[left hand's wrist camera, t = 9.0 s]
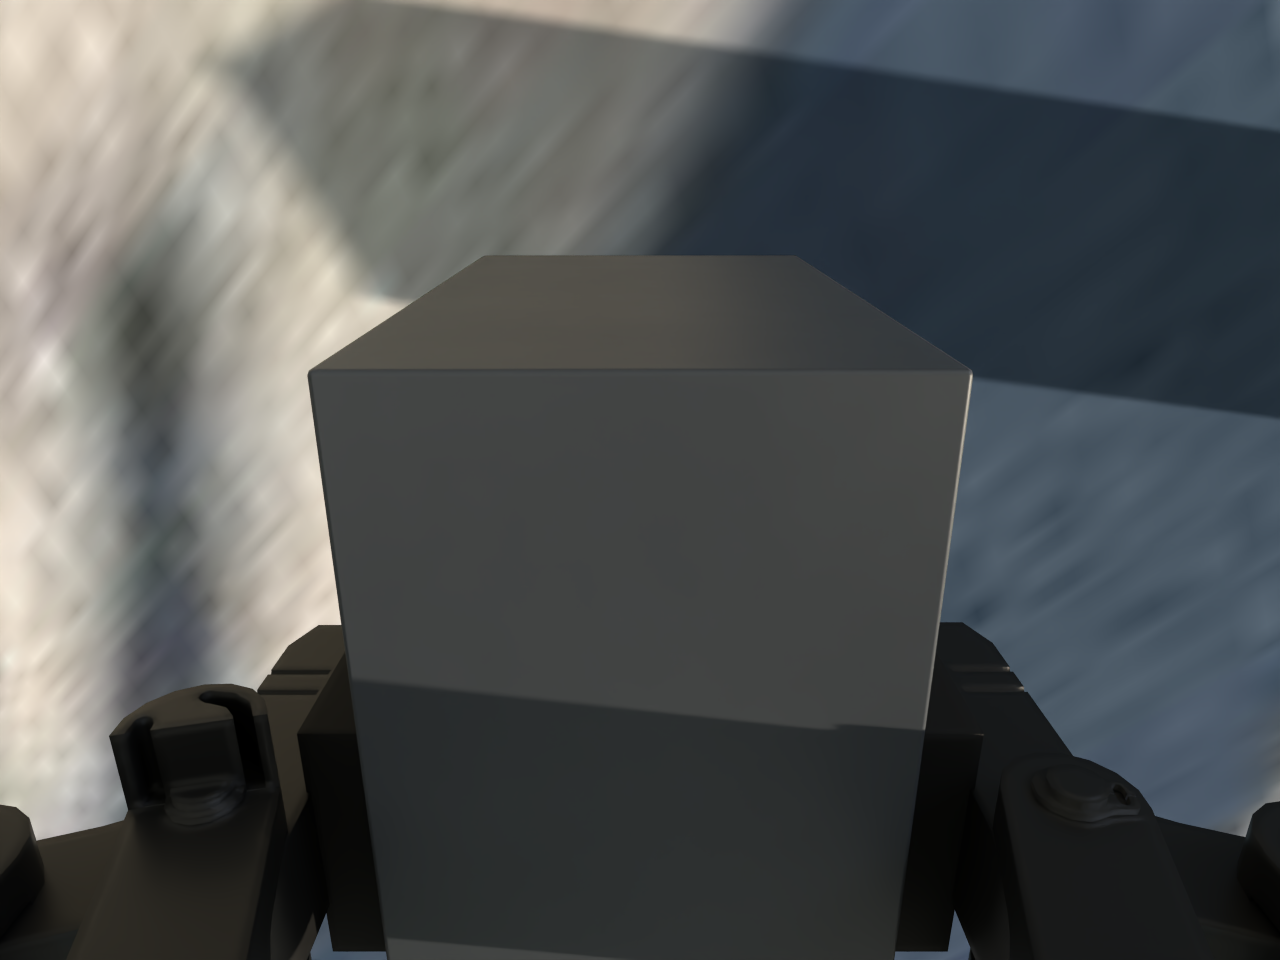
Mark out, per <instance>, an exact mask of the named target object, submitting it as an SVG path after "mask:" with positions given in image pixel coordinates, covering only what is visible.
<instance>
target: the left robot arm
mask: <svg viewBox="0 0 1280 960" xmlns="http://www.w3.org/2000/svg"><path fill="white" fill-rule="evenodd" d="M271 671H272V672H271V675H267V677H266V678H265V680H264V681H263V683H262V684H261V685H260V687H259V688H258V690H257V692H256V691H254V690H253V689H251V688H247V687H243V686H238V685H234V684H208V685H200V686H196V687H191V688H187V689H182V690H178V691H174V692H172V693H169V694H167V695H165V696H162V697H160V698H157V699H155V700H153V701H150V702H148V703H146V704H144V705H143V706H141V707H140V708H138V709H137V710H135V711H134V712H132V713H131V714H129V715H128V716H126V717H125V718H124V719H123V720H122V721H121V722H120V723H119V725H118V726H117V727H116V728H115V729H114V731H113V732H112V733H111V734H110V736H109V737H110V741H111V745H112V749H113V753H114V757H115V761H116V764H117V768H118V772H119V776H120V780H121V784H122V788H123V792H124V795H125V799H126V803H127V807H128V812H127V814H126V817H125V819H124V820H123V821H120V822H116V823H113V824H109V825H106V826H102V827H97V828H93V829H88V830H84V831H79V832H74V833H70V834H65V835H61V836H56V837H51V838H47V839H42V840H38V841H36V838H35V835H34V832H33V829H32V825H31V822H30V819H29V817H27V816H26V815H25V814H24V813H23V812H21V811H20V810H19V809H18V808H16V807H12V806H5V805H0V960H312V959H311V953H310V951H311V949H312V946H313V944H314V941H315V939H316V936H317V934H318V932H319V929H320V927H321V924H322V922H323V919H324V917H325V915H326V913H327V919H328V925H329V931H330V937H331V943H332V949H333V951H386V947H385V940H384V932H383V925H382V918H381V910H380V903H379V896H378V888H377V881H376V874H375V867H374V859H373V852H372V845H371V837H370V830H369V823H368V815H367V808H366V801H365V793H364V786H363V779H362V771H361V764H360V757H359V749H358V742H357V735H356V727H355V720H354V713H353V705H352V698H351V691H350V683H349V676H348V669H347V661H346V654H345V647H344V639H343V632H342V625H318V626H317V627H315V628H314V629H312V630H311V631H309V632H308V633H306V634H305V635H304V636H302V637H301V638H299V639H298V640H296V641H295V642H293V643H292V644H290V645H289V646H288V647H287V649H286V650H285V651H284V653H283V654H282V656H281V657H280V659H279V660H278V661H277V663H276V664H275V666H274V667H273V668H272V670H271ZM954 910H955V911H956V914H957V916H958V918H959V921H960V923H961V926H962V928H963V931H964V933H965V935H966V938H967V940H968V943H969V945H970V953H969V959H968V960H1280V801H1279V802H1272V803H1266V804H1265V805H1263V806H1262V807H1261V808H1260V809H1259V810H1257V811H1256V812H1255V813H1254V814H1253V815H1252V818H1251V821H1250V825H1249V828H1248V831H1247V834H1246V837H1242V836H1237V835H1232V834H1228V833H1223V832H1219V831H1214V830H1209V829H1205V828H1200V827H1196V826H1191V825H1186V824H1182V823H1178V822H1174V821H1171V820H1167V819H1164V818H1160V817H1157V816H1155V815H1154V813H1153V810H1152V808H1151V807H1150V806H1149V804H1148V803H1147V801H1146V800H1145V798H1144V797H1143V796H1142V794H1141V793H1140V791H1139V790H1138V789H1137V788H1135V787H1134V786H1133V785H1131V784H1130V783H1129V782H1127V781H1126V780H1125V779H1124V778H1122V777H1121V776H1120V775H1118V774H1117V773H1115V772H1113V771H1111V770H1109V769H1107V768H1105V767H1103V766H1100V765H1098V764H1096V763H1094V762H1092V761H1090V760H1086V759H1082V758H1078V757H1074V756H1073V755H1072V754H1071V752H1070V751H1069V750H1068V748H1067V747H1066V745H1065V744H1064V743H1063V741H1062V740H1061V738H1060V737H1059V736H1058V734H1057V733H1056V731H1055V730H1054V729H1053V727H1052V726H1051V724H1050V723H1049V721H1048V720H1047V719H1046V717H1045V716H1044V714H1043V713H1042V712H1041V710H1040V709H1039V707H1038V706H1037V705H1036V703H1035V702H1034V700H1033V699H1032V698H1031V696H1030V695H1029V693H1028V692H1024V686H1023V685H1022V684H1021V682H1020V681H1019V679H1018V678H1017V677H1016V675H1015V674H1014V672H1010V667H1009V665H1008V664H1007V663H1006V661H1005V660H1004V658H1003V657H1002V656H1001V654H1000V653H999V651H998V650H997V649H996V647H995V646H994V644H993V643H992V642H990V641H989V640H987V639H986V638H984V637H983V636H982V635H980V634H979V633H977V632H976V631H974V630H973V629H971V628H970V627H968V626H967V625H965V624H964V623H962V622H940V624H939V631H938V639H937V646H936V653H935V661H934V668H933V676H932V683H931V690H930V698H929V705H928V713H927V720H926V727H925V735H924V742H923V750H922V757H921V764H920V772H919V779H918V787H917V794H916V801H915V809H914V816H913V824H912V831H911V838H910V846H909V853H908V861H907V868H906V875H905V883H904V890H903V898H902V905H901V912H900V920H899V927H898V935H897V942H896V949H895V951H948V946H949V940H950V934H951V928H952V922H953V916H954Z"/></svg>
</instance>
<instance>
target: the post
mask: <svg viewBox="0 0 1280 960" xmlns="http://www.w3.org/2000/svg"><path fill="white" fill-rule="evenodd" d="M972 380H973V373H972V370H971V369H969V368H968V367H966V366H965V365H963V364H962V363H960V362H958V361H957V360H955V359H954V358H952V357H951V356H949V355H948V354H946V353H945V352H943V351H942V350H940V349H938V348H937V347H935V346H934V345H932V344H931V343H929V342H928V341H926V340H925V339H923V338H922V337H920V336H919V335H917V334H915V333H914V332H912V331H911V330H909V329H908V328H906V327H905V326H903V325H902V324H900V323H899V322H897V321H896V320H894V319H892V318H891V317H889V316H888V315H886V314H885V313H883V312H882V311H880V310H879V309H877V308H876V307H874V306H872V305H871V304H869V303H868V302H866V301H865V300H863V299H862V298H860V297H859V296H857V295H856V294H854V293H853V292H851V291H849V290H848V289H846V288H845V287H843V286H842V285H840V284H839V283H837V282H836V281H834V280H833V279H831V278H829V277H828V276H826V275H825V274H823V273H822V272H820V271H819V270H817V269H816V268H814V267H813V266H811V265H810V264H808V263H806V262H805V261H803V260H802V259H800V258H799V257H797V256H795V255H714V256H483V257H481V258H480V259H478V260H477V261H475V262H474V263H472V264H471V265H469V266H468V267H466V268H465V269H463V270H462V271H460V272H459V273H457V274H456V275H454V276H453V277H451V278H449V279H448V280H446V281H445V282H443V283H442V284H440V285H439V286H437V287H436V288H434V289H433V290H431V291H430V292H428V293H427V294H425V295H424V296H422V297H421V298H419V299H417V300H416V301H414V302H413V303H411V304H410V305H408V306H407V307H405V308H404V309H402V310H401V311H399V312H398V313H396V314H395V315H393V316H392V317H390V318H388V319H387V320H385V321H384V322H382V323H381V324H379V325H378V326H376V327H375V328H373V329H372V330H370V331H369V332H367V333H366V334H364V335H363V336H361V337H360V338H358V339H356V340H355V341H353V342H352V343H350V344H349V345H347V346H346V347H344V348H343V349H341V350H340V351H338V352H337V353H335V354H334V355H332V356H331V357H329V358H328V359H326V360H324V361H323V362H321V363H320V364H318V365H317V366H315V367H314V368H312V369H311V370H309V372H308V383H309V390H310V398H311V405H312V412H313V419H314V427H315V434H316V441H317V449H318V456H319V463H320V471H321V478H322V485H323V493H324V500H325V507H326V515H327V522H328V529H329V537H330V544H331V551H332V559H333V566H334V573H335V581H336V588H337V595H338V603H339V610H340V617H341V625H342V632H343V639H344V647H345V654H346V661H347V669H348V676H349V683H350V691H351V698H352V705H353V713H354V720H355V727H356V735H357V742H358V749H359V757H360V764H361V771H362V779H363V786H364V793H365V801H366V808H367V815H368V823H369V830H370V837H371V845H372V852H373V859H374V867H375V874H376V881H377V888H378V896H379V903H380V910H381V918H382V925H383V932H384V940H385V947H386V954H387V960H894V957H895V949H896V942H897V935H898V927H899V920H900V912H901V905H902V898H903V890H904V883H905V875H906V868H907V861H908V853H909V846H910V838H911V831H912V824H913V816H914V809H915V801H916V794H917V787H918V779H919V772H920V764H921V757H922V750H923V742H924V735H925V727H926V720H927V713H928V705H929V698H930V690H931V683H932V676H933V668H934V661H935V653H936V646H937V639H938V631H939V624H940V616H941V609H942V602H943V594H944V587H945V579H946V572H947V565H948V557H949V550H950V542H951V535H952V528H953V520H954V513H955V505H956V498H957V491H958V483H959V476H960V468H961V461H962V454H963V446H964V439H965V431H966V424H967V417H968V409H969V402H970V394H971V387H972Z"/></svg>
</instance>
